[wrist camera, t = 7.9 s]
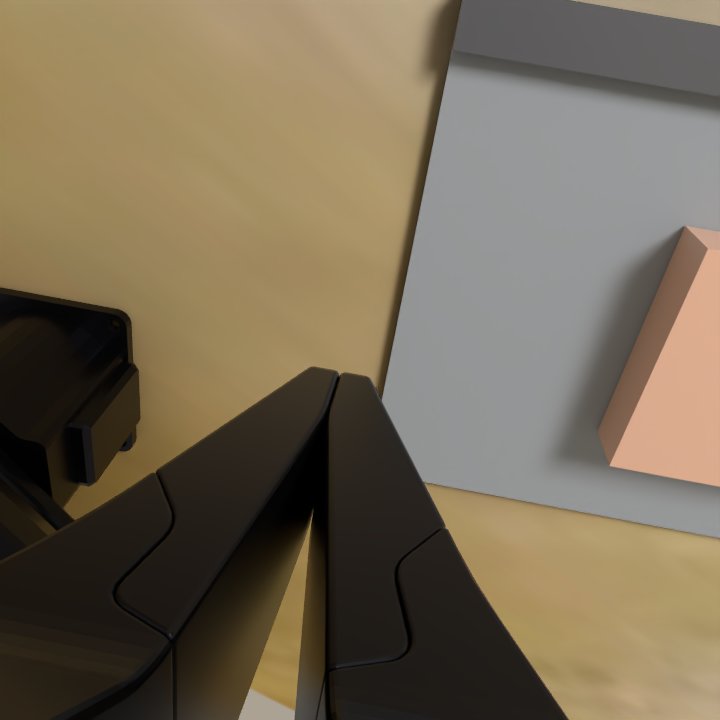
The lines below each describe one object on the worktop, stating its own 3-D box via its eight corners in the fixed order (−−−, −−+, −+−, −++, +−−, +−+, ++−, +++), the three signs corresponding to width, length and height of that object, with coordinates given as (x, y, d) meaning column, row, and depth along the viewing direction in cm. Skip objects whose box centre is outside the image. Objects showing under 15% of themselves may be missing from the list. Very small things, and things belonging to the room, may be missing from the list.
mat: (368, 464, 26) (367, 471, 26) (454, 35, 18) (454, 36, 18) (805, 547, 26) (809, 555, 26) (1095, 146, 18) (1108, 149, 17)
